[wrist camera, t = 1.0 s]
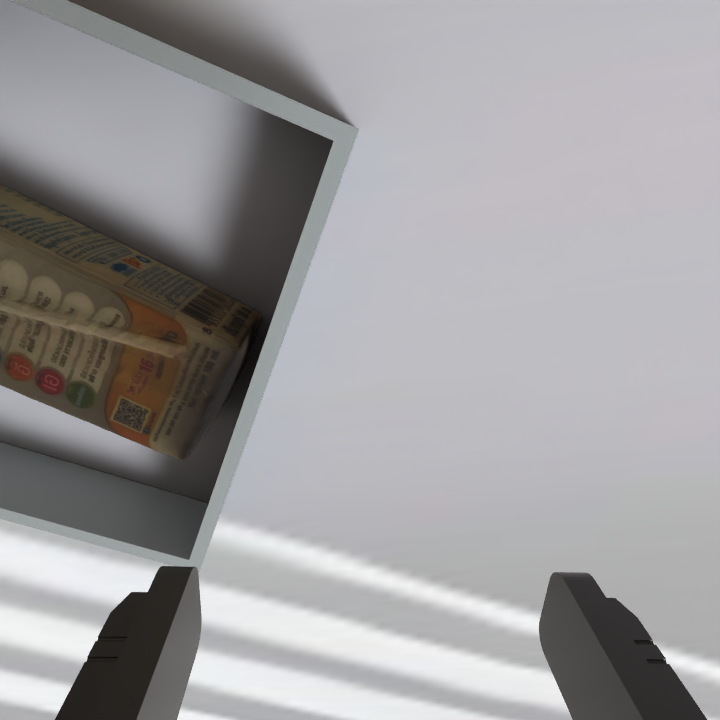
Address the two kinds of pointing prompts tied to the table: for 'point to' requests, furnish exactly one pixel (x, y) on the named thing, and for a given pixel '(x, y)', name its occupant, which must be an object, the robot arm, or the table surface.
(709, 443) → the table surface
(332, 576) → the table surface
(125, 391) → the beverage carton
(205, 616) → the table surface
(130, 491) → the tote tray
